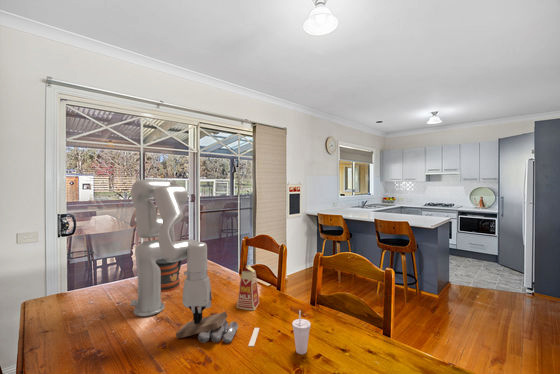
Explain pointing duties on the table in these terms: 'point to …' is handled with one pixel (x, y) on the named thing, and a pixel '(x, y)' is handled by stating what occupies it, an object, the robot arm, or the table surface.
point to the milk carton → (248, 290)
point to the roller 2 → (219, 332)
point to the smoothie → (301, 334)
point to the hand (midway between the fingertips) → (197, 321)
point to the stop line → (254, 337)
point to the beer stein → (169, 275)
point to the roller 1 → (205, 336)
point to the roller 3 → (230, 332)
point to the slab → (202, 325)
